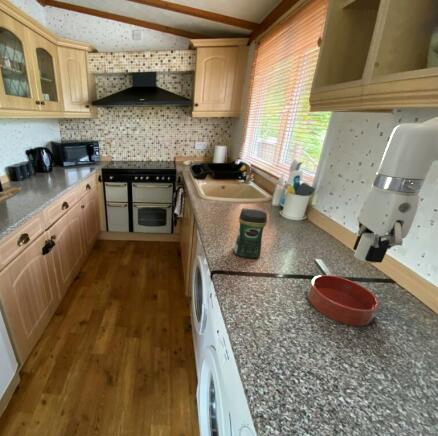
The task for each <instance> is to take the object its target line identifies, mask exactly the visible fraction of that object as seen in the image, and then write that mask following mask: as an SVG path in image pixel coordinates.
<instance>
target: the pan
mask: <svg viewBox="0 0 438 436" xmlns="http://www.w3.org/2000/svg"><path fill="white" fill-rule="evenodd" d="M307 300H308V301H309V303H310V304H311V306H312V307H313V308H314V309H315V310H317V311H318V312H320V313H321V315H324V316H325V317H327V318H329V319H331V320H334V321H336V322H338V323H342V324H344V325H349V326H355V327H363V326H368V325H369V324H371V323H372V322H373V320H374V318H375V316H376V314H377V312H378V310H379V307H380V306H381V303H380V301H379V298H378V297H377V296H376V295H375V294H374V293H373V292H372V290H371V291H370V290H369V289H368V288H366V287H365V286H363V285H361V284H359V283H357V282H355V281H353V280H350V279H348V278H345V277H341V276H338V275H333V276H332V275H323V274H320V275H315V276H314V277H313V278H312V279H311V282H310V285H309V287H308V291H307Z"/></svg>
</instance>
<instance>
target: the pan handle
mask: <svg viewBox="0 0 438 436" xmlns="http://www.w3.org/2000/svg"><path fill="white" fill-rule="evenodd" d="M313 263H314V264H315V266H316V267H317V269H318V270H319V271H320V273H321V275H332V276H334V274H333V273H332V272H331V270H330V269H329V268H328V267H327V265H326V264H325V263H324V261H323V260H322V259H320V258H314V260H313Z"/></svg>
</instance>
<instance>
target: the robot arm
mask: <svg viewBox="0 0 438 436" xmlns="http://www.w3.org/2000/svg"><path fill="white" fill-rule="evenodd" d="M436 161H438V116H436V117H432V118H431V119H428V120H426V121H423V122H404V123H400V124H399V125H397V126H396V127H394V128H393V131H392V133H391V135H390V138H389V140H388V142H387V145H386V148H385V151H384V153H383V156H382V159H381V160H380V164H379V167H378V169H377V172H376V175H375V176H374V180H373V182H372V185H371V188H370V190H369V192H368V194H367V195H366V198H365V199H364V202H363V204H362V206H361V209H360V212H359V214H358V216H357V222H358V230H357V236H356V239H355V243H354V245H353V246H352V247H353V250H354V251H356V249H357V246H358V244H359V241H360V239H361V236H362V234H363V233H372V234H376V235H375V240H374V244H373V246H372V245H371V246H370V248H369V250H368V253H367V255H366V258H365V260H366V261H370V262H376V263H379V264H381V263H383V260H384V258H385V256H386V254H387V251H388V250H390V249H391V248H392V247H395V246H396V247H397V246H402V245H403V239H405V238H407V236H408V235H409V233H410V231H411V228H412V226H413V223H414V220H415V218H416V214H417V211H418V207H419V204H420V195H419V194H420V191H421V189H422V187H423V184H424V182H425V181H426V178H427V176H428V173H429V171H430V169H431V167H432V165H433V163H434V162H436ZM382 237H383V238H386V240H383V241H381V238H382Z"/></svg>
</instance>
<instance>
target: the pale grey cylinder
mask: <svg viewBox="0 0 438 436" xmlns="http://www.w3.org/2000/svg"><path fill="white" fill-rule="evenodd" d="M375 235H376V233H374V234H372V233H363V234H362V236H361V239H360V241H359V244H358V246H357V249H356V250H354V254H353V256H354V257H355V259H357V260H359V261H362V262H364V263H369V264H376V263H377V262H370V261H366V260H365V258H366V255H367V253H368V250H369V248H370V246H371V245H372V246H373V244H374V240H375ZM383 240H386V238H383V237H382V238H381V241H383Z"/></svg>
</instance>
